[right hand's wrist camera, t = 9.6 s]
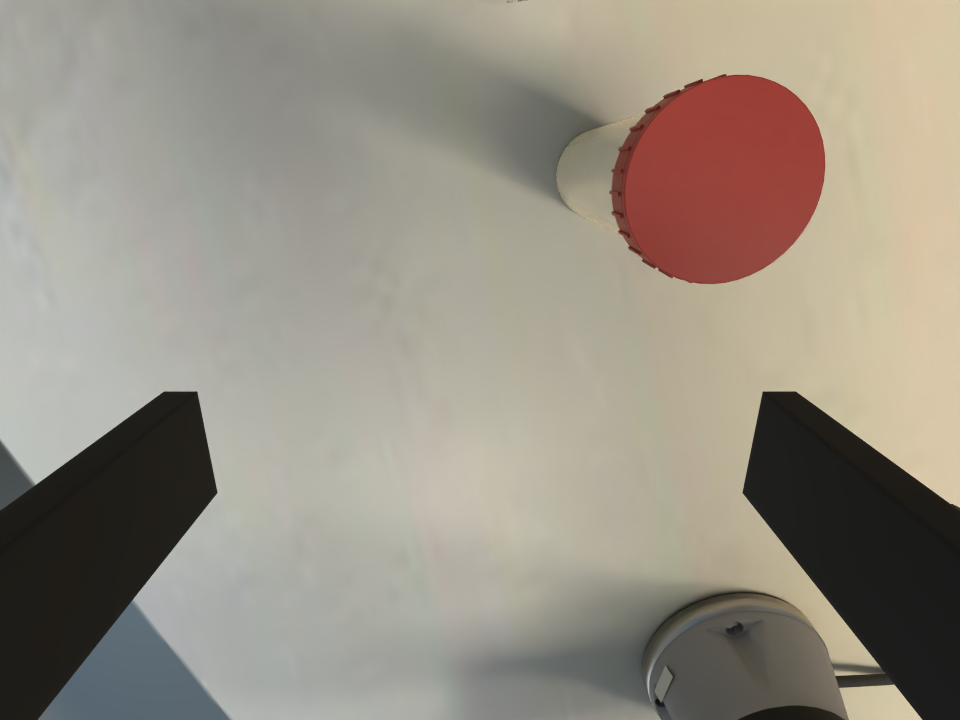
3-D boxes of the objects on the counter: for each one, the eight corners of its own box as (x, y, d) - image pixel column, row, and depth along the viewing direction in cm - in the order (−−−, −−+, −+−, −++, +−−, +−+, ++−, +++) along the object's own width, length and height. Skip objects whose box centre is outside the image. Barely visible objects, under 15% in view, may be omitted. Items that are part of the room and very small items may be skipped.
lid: (721, 304, 19) (744, 318, 18) (575, 224, 18) (584, 230, 17) (834, 141, 17) (871, 138, 16) (676, 42, 16) (699, 28, 15)
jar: (611, 232, 35) (735, 297, 18) (540, 193, 34) (600, 223, 17) (657, 154, 33) (841, 146, 16) (583, 111, 32) (697, 55, 15)
